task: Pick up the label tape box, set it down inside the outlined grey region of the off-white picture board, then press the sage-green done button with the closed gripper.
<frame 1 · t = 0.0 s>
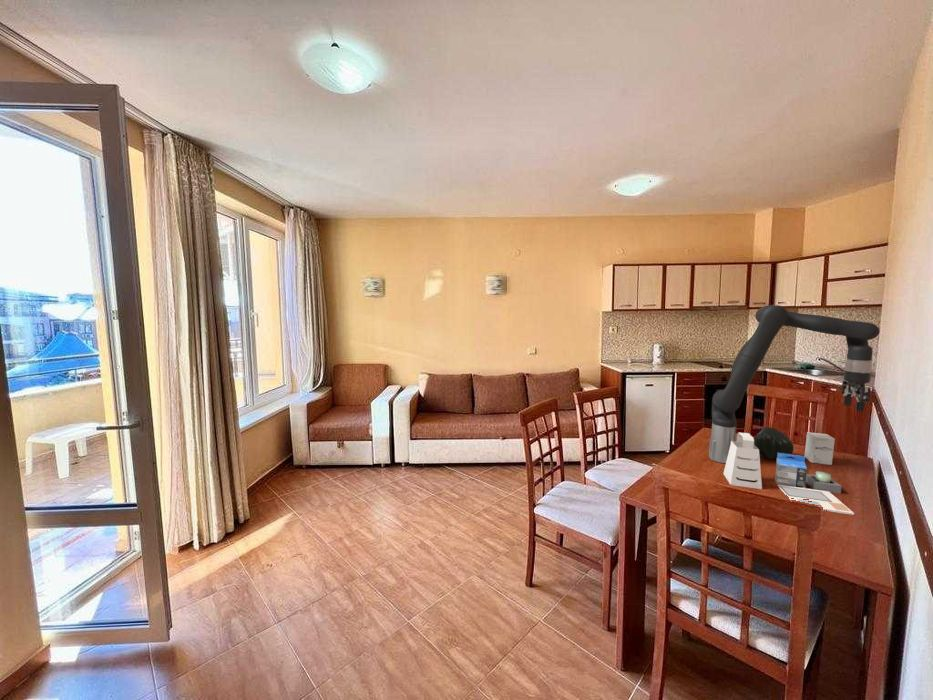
hand: (853, 408, 152), 29 cm above the table, fingers open, 8 cm apart
grater: (741, 481, 151), on the table
done button: (822, 478, 145), point 4 cm above the table, slide at 0.0 cm
picture board: (812, 499, 136), on the table
button housing: (821, 486, 145), on the table
squash: (770, 456, 175), on the table
supplement box: (817, 461, 169), on the table
label tape box: (789, 485, 148), on the table
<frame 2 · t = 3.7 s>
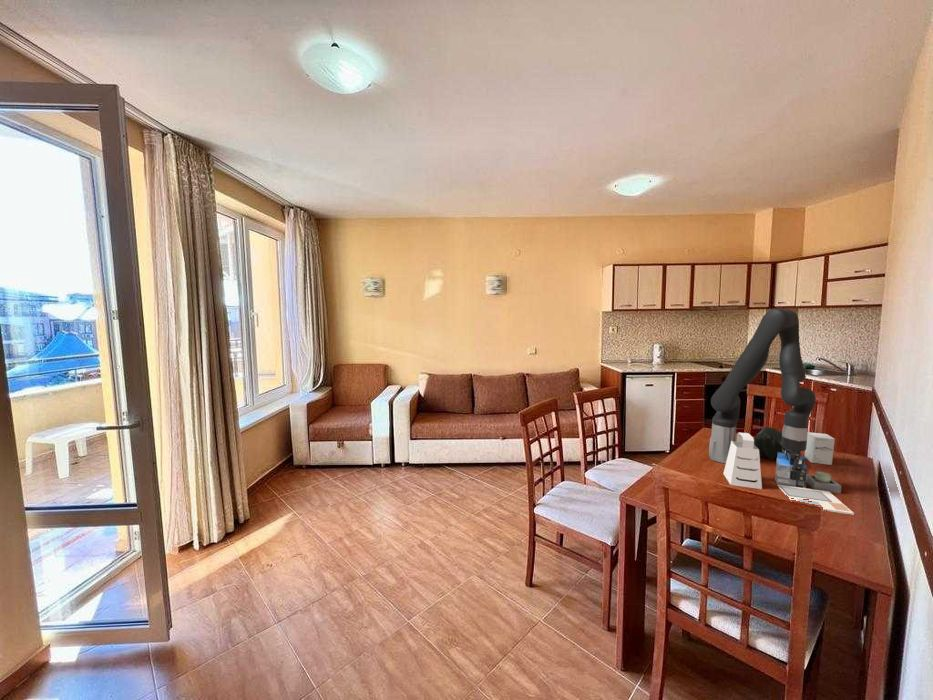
hand: (790, 476, 147), 3 cm above the table, fingers closed on label tape box, 4 cm apart
label tape box: (789, 485, 148), on the table, touching gripper
everything else where it was.
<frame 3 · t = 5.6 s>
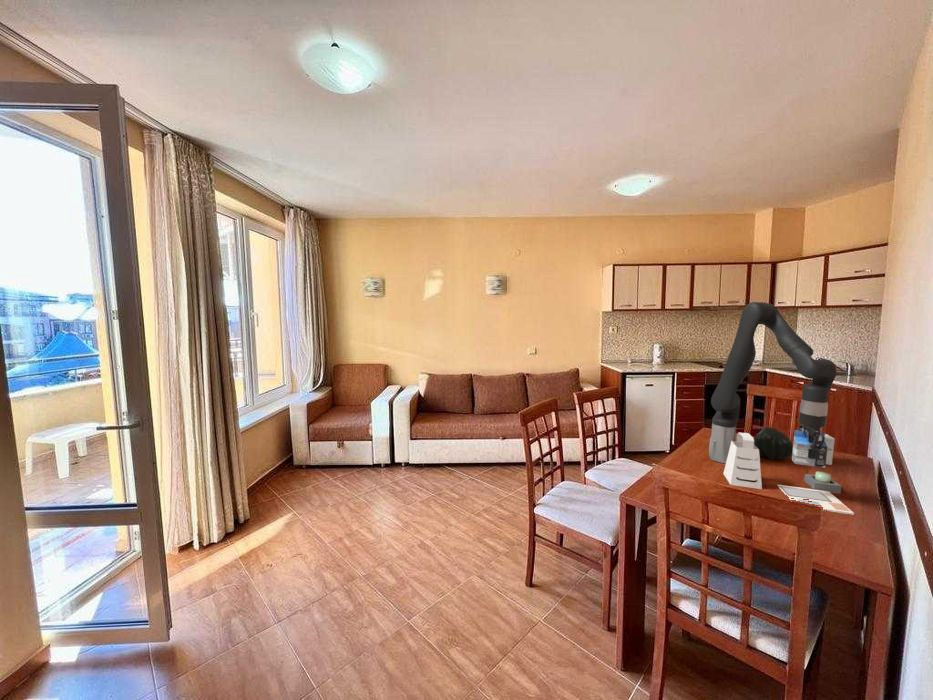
hand: (808, 455, 137), 16 cm above the table, fingers closed on label tape box, 4 cm apart
label tape box: (807, 464, 138), point 12 cm above the table, touching gripper
everything else where it was.
when the fingers open (6 cm above the table, at t = 7.7 s): label tape box drops 2 cm, resting on picture board.
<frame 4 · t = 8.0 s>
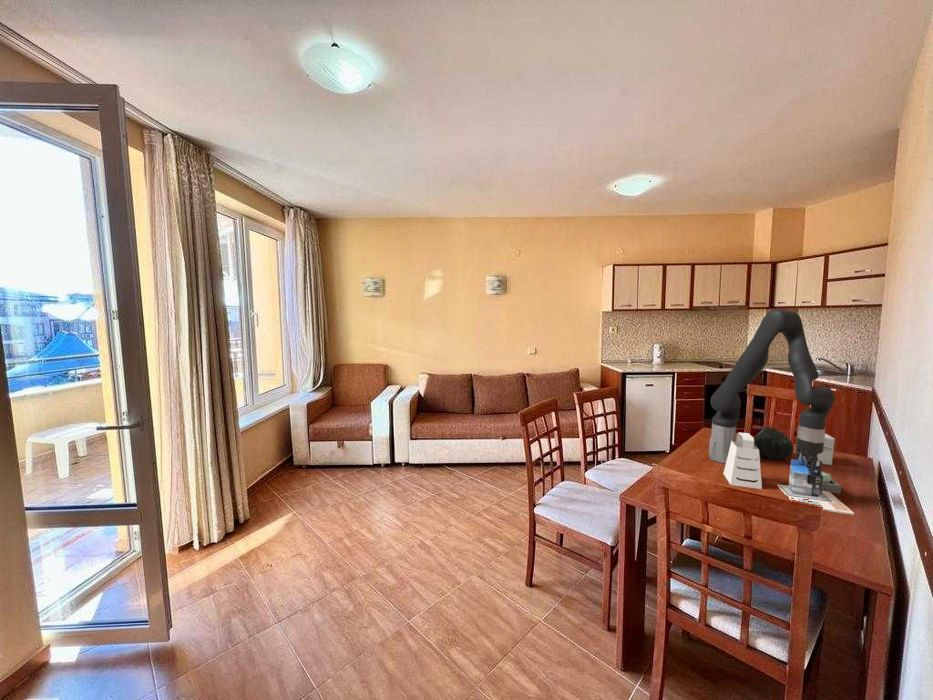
hand: (806, 479, 139), 6 cm above the table, fingers open, 6 cm apart
label tape box: (804, 493, 140), point 1 cm above the table, touching picture board
everything else where it was.
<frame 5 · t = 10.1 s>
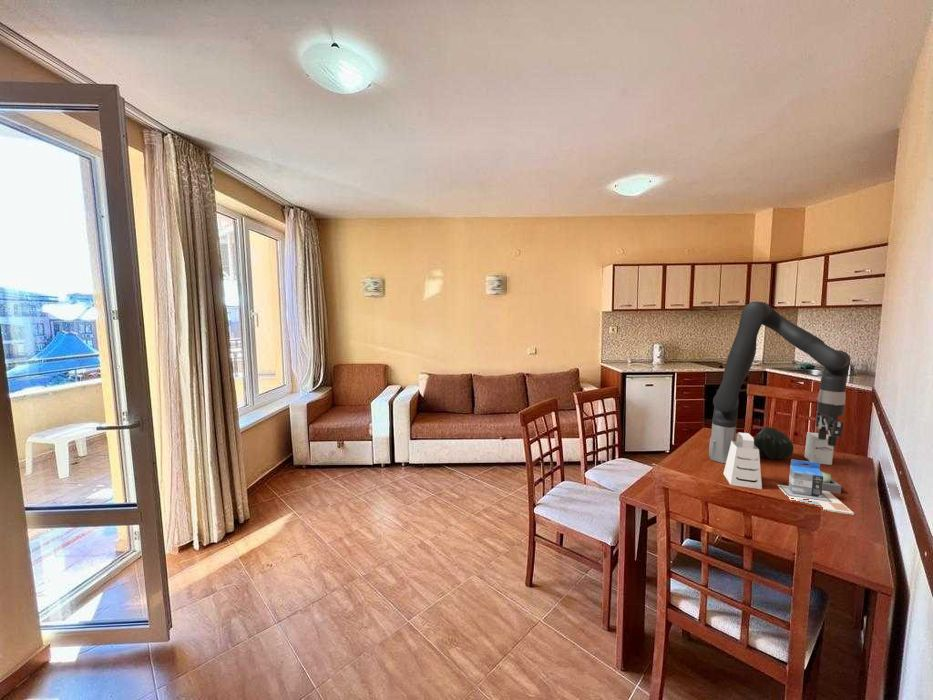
hand: (826, 442, 143), 19 cm above the table, fingers open, 6 cm apart
nothing on the table moved.
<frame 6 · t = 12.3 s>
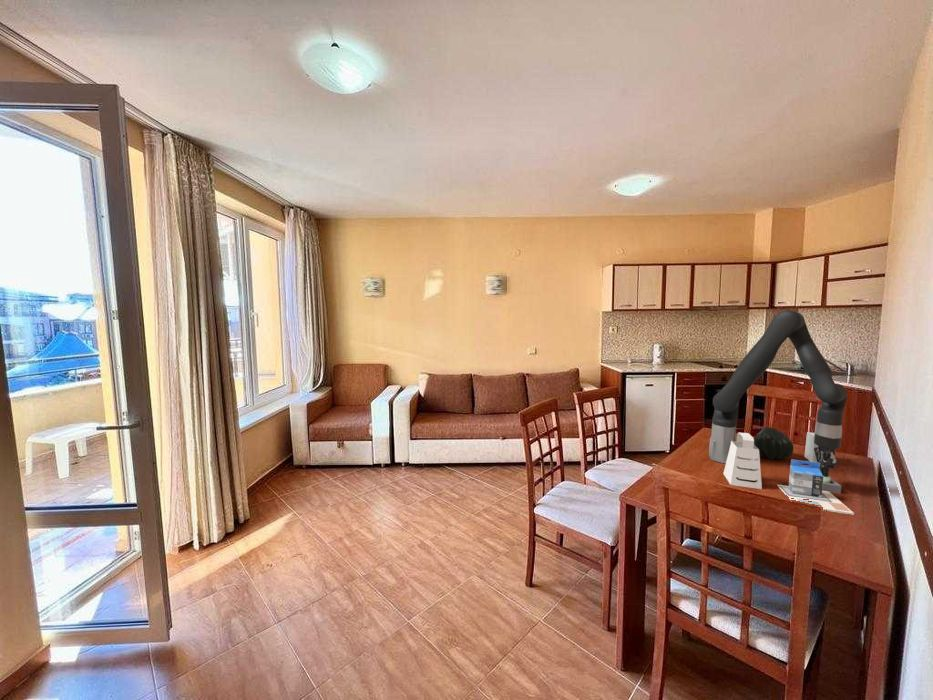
hand: (823, 475, 145), 5 cm above the table, fingers closed
done button: (822, 480, 145), point 3 cm above the table, slide at 0.8 cm, touching gripper
everything else where it was.
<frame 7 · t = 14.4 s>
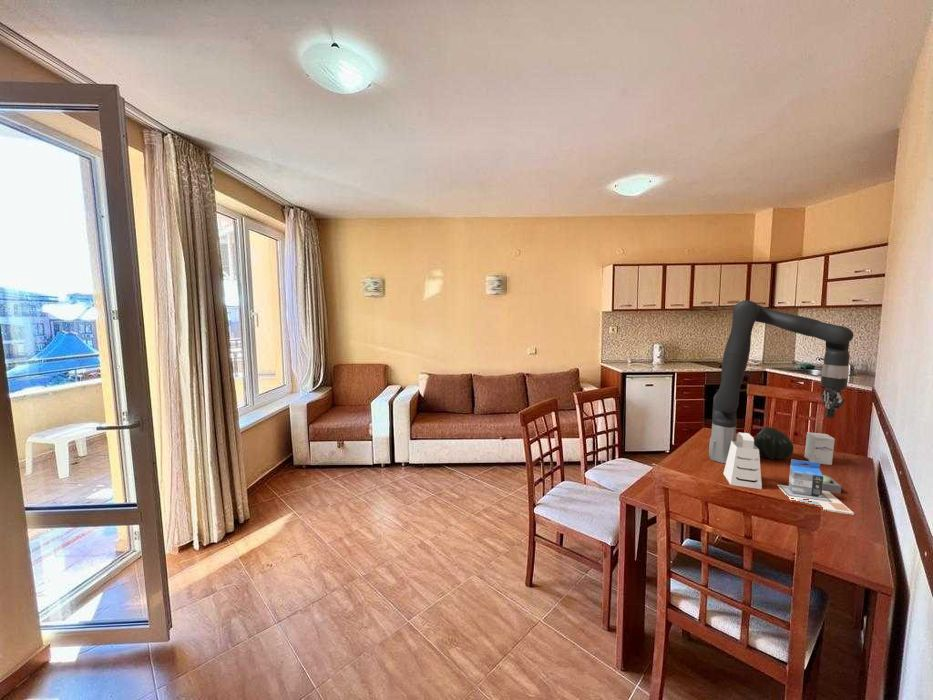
hand: (829, 417, 147), 27 cm above the table, fingers closed
done button: (822, 481, 145), point 2 cm above the table, slide at 1.0 cm
everything else where it was.
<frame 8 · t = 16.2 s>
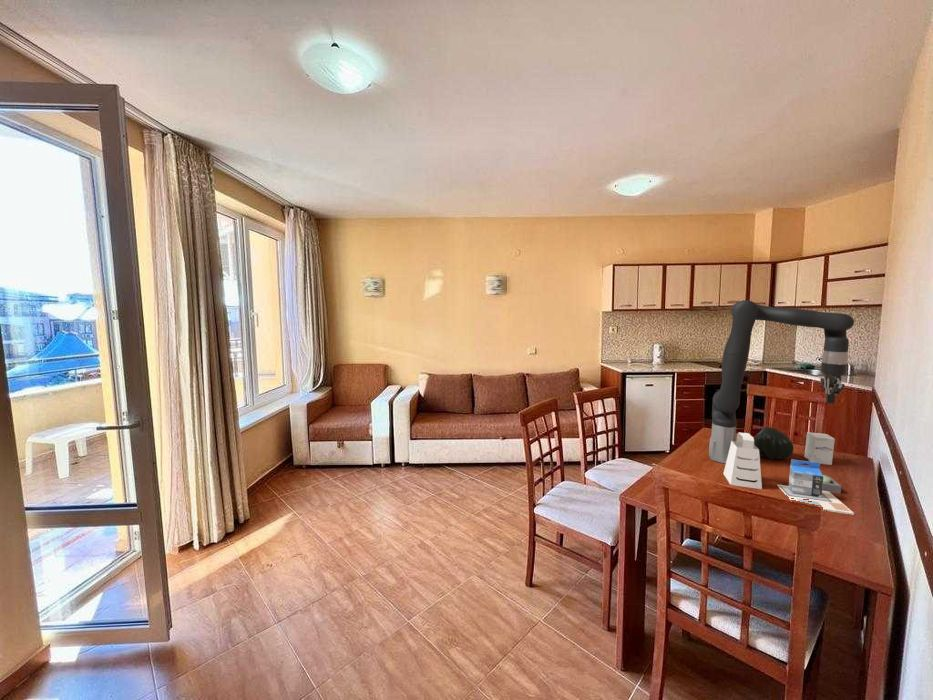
hand: (829, 403, 151), 32 cm above the table, fingers closed
nothing on the table moved.
at the end: label tape box inside the target area on the picture board (0.4 cm from its centre), point 0.5 cm above the picture board's base; label tape box tilted 0°; done button slide at 1.0 cm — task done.
